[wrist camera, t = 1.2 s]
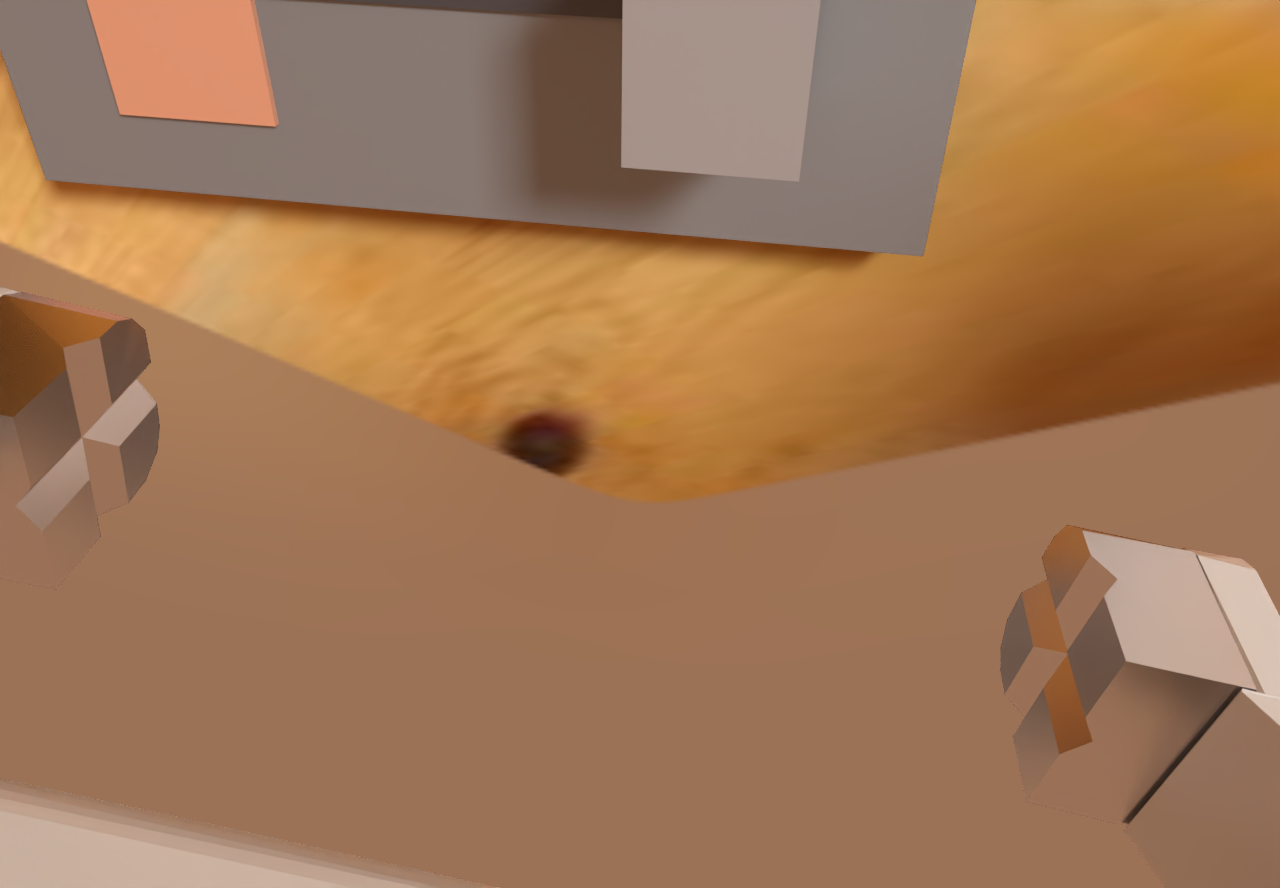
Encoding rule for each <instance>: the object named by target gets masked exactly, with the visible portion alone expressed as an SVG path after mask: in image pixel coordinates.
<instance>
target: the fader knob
mask: <svg viewBox="0 0 1280 888" xmlns="http://www.w3.org/2000/svg"><path fill="white" fill-rule="evenodd" d="M820 2H821V0H623V15H622V137H621V167H623V168H635V169H648V170H660V171H673V172H685V173H698V174H710V175H723V176H735V177H748V178H760V179H773V180H785V181H797V182H799V178H800V169H801V161H802V153H803V144H804V136H805V128H806V119H807V111H808V102H809V94H810V86H811V77H812V69H813V60H814V52H815V44H816V35H817V27H818V19H819V10H820Z"/></svg>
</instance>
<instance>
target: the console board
mask: <svg viewBox="0 0 1280 888" xmlns="http://www.w3.org/2000/svg"><path fill="white" fill-rule="evenodd" d="M975 4H976V0H821V2H820V10H819V19H818V27H817V35H816V44H815V52H814V60H813V69H812V77H811V86H810V94H809V102H808V111H807V119H806V128H805V136H804V144H803V153H802V161H801V169H800V178H799V182H797V181H785V180H773V179H760V178H748V177H735V176H723V175H710V174H698V173H685V172H673V171H660V170H648V169H635V168H623V167H621V137H622V15H623V0H0V50H1V53H2V56H3V59H4V61H5V64H6V67H7V70H8V73H9V76H10V79H11V81H12V84H13V87H14V90H15V93H16V96H17V99H18V101H19V104H20V107H21V110H22V113H23V116H24V118H25V121H26V124H27V127H28V130H29V133H30V136H31V138H32V141H33V144H34V147H35V150H36V153H37V156H38V158H39V161H40V164H41V167H42V170H43V173H44V176H45V178H46V180H51V181H63V182H74V183H86V184H97V185H109V186H120V187H131V188H143V189H154V190H166V191H177V192H189V193H200V194H212V195H223V196H235V197H246V198H258V199H269V200H281V201H292V202H304V203H315V204H327V205H338V206H350V207H361V208H373V209H384V210H396V211H407V212H419V213H430V214H442V215H453V216H465V217H476V218H488V219H499V220H511V221H522V222H534V223H545V224H557V225H568V226H580V227H591V228H603V229H614V230H626V231H637V232H649V233H660V234H672V235H683V236H695V237H706V238H718V239H729V240H741V241H752V242H764V243H775V244H787V245H798V246H810V247H821V248H833V249H844V250H856V251H867V252H879V253H890V254H902V255H913V256H923V255H924V251H925V246H926V241H927V236H928V231H929V226H930V222H931V217H932V212H933V207H934V202H935V197H936V192H937V188H938V183H939V178H940V173H941V168H942V163H943V159H944V154H945V149H946V144H947V139H948V134H949V129H950V125H951V120H952V115H953V110H954V105H955V100H956V96H957V91H958V86H959V81H960V76H961V71H962V67H963V62H964V57H965V52H966V47H967V42H968V37H969V33H970V28H971V23H972V18H973V13H974V8H975Z"/></svg>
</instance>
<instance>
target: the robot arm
mask: <svg viewBox="0 0 1280 888" xmlns="http://www.w3.org/2000/svg"><path fill="white" fill-rule="evenodd" d="M150 363H151V360H150V354H149V349H148V343H147V338H146V333H145V330H144V329H143V328H142V327H141V326H140V325H139V324H138V323H136V322H135V321H134V320H133V319H132V318H127V317H123V316H119V315H115V314H111V313H107V312H103V311H99V310H95V309H90V308H86V307H82V306H78V305H73V304H70V303H65V302H61V301H57V300H53V299H49V298H45V297H41V296H36V295H33V294H28V293H24V292H20V293H18V292H16V291H13V290H10V289H6V288H1V287H0V579H2V580H7V581H12V582H17V583H23V584H28V585H33V586H38V587H44V588H49V589H54V590H57V588H58V587H59V586H60V585H61V584H62V583H63V581H64V580H65V579H66V578H67V577H68V575H69V574H70V573H71V572H72V571H73V569H74V568H75V567H76V566H77V565H78V563H79V562H80V561H81V560H82V558H83V557H84V556H85V555H86V554H87V553H88V551H89V550H90V549H91V548H92V547H93V545H94V544H95V543H96V542H97V540H98V539H99V538H100V537H101V535H100V530H99V524H98V518H97V516H98V515H100V514H103V513H105V512H108V511H110V510H112V509H115V508H117V507H120V506H122V505H124V504H126V503H129V501H130V500H131V499H132V498H133V496H134V495H135V494H136V492H137V491H138V490H139V488H140V487H141V486H142V484H143V483H144V482H145V481H146V478H147V476H148V474H149V471H150V468H151V466H152V463H153V461H154V458H155V456H156V453H157V449H158V438H159V428H160V424H159V416H158V408H157V403H156V402H155V401H154V399H152V397H151V396H150V395H149V393H148V392H147V391H146V390H145V388H144V387H143V386H142V385H141V384H140V382H139V381H138V380H137V378H138V377H139V376H140V375H141V373H142V372H143V371H144V370H145V369H146V367H147V366H148V365H149V364H150ZM1042 560H1043V564H1044V568H1045V572H1046V575H1047V579H1048V580H1046V581H1044V582H1042V583H1040V584H1038V585H1036V586H1034V587H1032V588H1030V589H1028V590H1026V591H1024V592H1022V593H1021V594H1020V596H1019V598H1018V600H1017V602H1016V604H1015V606H1014V608H1013V610H1012V612H1011V614H1010V616H1009V617H1008V619H1007V623H1006V628H1005V632H1004V636H1003V640H1002V645H1001V668H1000V670H1001V677H1002V682H1003V688H1004V694H1005V695H1006V697H1007V698H1008V699H1009V700H1010V701H1011V702H1012V703H1013V705H1014V706H1015V707H1016V708H1017V709H1018V710H1019V711H1020V713H1021V714H1022V715H1023V716H1024V717H1025V718H1024V719H1023V721H1022V722H1021V724H1020V726H1019V727H1018V729H1017V730H1016V732H1015V734H1014V735H1013V739H1014V744H1015V749H1016V753H1017V759H1018V764H1019V769H1020V773H1021V778H1022V783H1023V788H1024V793H1025V798H1026V802H1029V803H1032V804H1037V805H1041V806H1045V807H1049V808H1053V809H1057V810H1061V811H1065V812H1069V813H1073V814H1077V815H1081V816H1085V817H1090V818H1093V819H1097V820H1102V821H1106V822H1110V823H1114V824H1118V825H1122V826H1126V828H1125V829H1124V832H1125V833H1126V835H1127V836H1128V838H1129V839H1130V840H1131V842H1132V843H1133V844H1134V846H1135V847H1136V848H1137V850H1138V851H1139V853H1140V854H1141V855H1142V857H1143V858H1144V859H1145V861H1146V862H1147V864H1148V865H1149V866H1150V868H1151V869H1152V870H1153V872H1154V873H1155V875H1156V876H1157V877H1158V878H1159V880H1160V881H1161V883H1162V884H1163V885H1164V887H1165V888H1280V616H1279V614H1278V612H1277V610H1276V608H1275V606H1274V604H1273V602H1272V600H1271V598H1270V597H1269V594H1268V593H1267V590H1266V589H1265V587H1264V585H1263V583H1262V581H1261V579H1260V577H1259V575H1258V573H1257V571H1256V570H1255V569H1254V568H1253V567H1252V566H1250V565H1249V564H1248V563H1247V562H1245V561H1244V560H1243V559H1240V558H1235V557H1229V556H1224V555H1219V554H1214V553H1208V552H1203V551H1198V550H1193V549H1187V548H1182V549H1178V548H1173V547H1168V546H1164V545H1159V544H1155V543H1150V542H1145V541H1140V540H1136V539H1131V538H1126V537H1122V536H1117V535H1112V534H1108V533H1103V532H1098V531H1094V530H1089V529H1084V528H1080V527H1075V526H1070V525H1067V526H1066V527H1065V528H1064V529H1062V530H1061V531H1060V532H1059V533H1058V534H1057V535H1056V536H1054V538H1053V540H1052V541H1051V543H1050V545H1049V546H1048V548H1047V550H1046V551H1045V553H1044V555H1043V556H1042ZM0 888H499V887H495V886H490V885H486V884H481V883H477V882H472V881H467V880H463V879H459V878H454V877H449V876H445V875H440V874H436V873H431V872H427V871H422V870H417V869H412V868H408V867H404V866H399V865H395V864H390V863H386V862H381V861H376V860H372V859H367V858H363V857H358V856H353V855H349V854H344V853H340V852H335V851H330V850H326V849H322V848H317V847H312V846H308V845H303V844H299V843H294V842H290V841H285V840H280V839H276V838H271V837H267V836H262V835H258V834H253V833H248V832H244V831H239V830H235V829H230V828H225V827H221V826H216V825H212V824H207V823H203V822H198V821H194V820H189V819H184V818H180V817H175V816H171V815H166V814H161V813H156V812H152V811H148V810H143V809H138V808H134V807H130V806H125V805H120V804H116V803H111V802H107V801H101V800H97V799H93V798H88V797H84V796H79V795H74V794H70V793H65V792H61V791H56V790H51V789H47V788H42V787H37V786H33V785H29V784H24V783H19V782H15V781H10V780H6V779H1V778H0Z"/></svg>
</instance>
